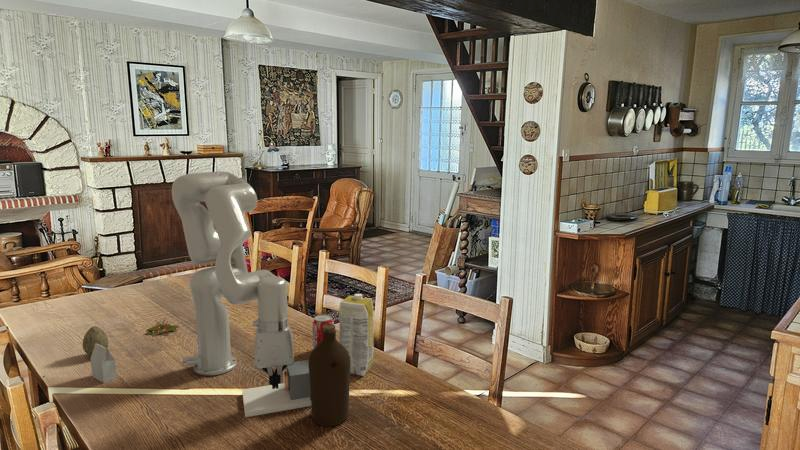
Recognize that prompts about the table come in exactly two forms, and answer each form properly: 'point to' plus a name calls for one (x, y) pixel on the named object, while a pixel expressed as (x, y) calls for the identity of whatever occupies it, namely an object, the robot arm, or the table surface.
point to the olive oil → (329, 380)
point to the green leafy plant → (161, 328)
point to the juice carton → (357, 332)
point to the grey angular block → (102, 364)
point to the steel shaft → (286, 380)
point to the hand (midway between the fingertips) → (275, 386)
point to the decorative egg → (94, 339)
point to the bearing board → (280, 393)
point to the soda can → (320, 327)
